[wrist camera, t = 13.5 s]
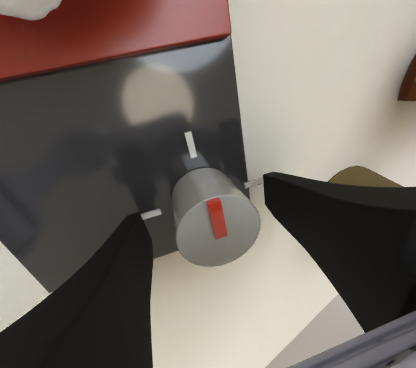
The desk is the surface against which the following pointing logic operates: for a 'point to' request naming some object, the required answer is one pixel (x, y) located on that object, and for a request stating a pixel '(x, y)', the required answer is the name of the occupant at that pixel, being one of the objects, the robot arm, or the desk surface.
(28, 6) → the white bottle
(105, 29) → the plate
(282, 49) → the desk surface
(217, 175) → the hob knob
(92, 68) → the hob
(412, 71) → the food container
